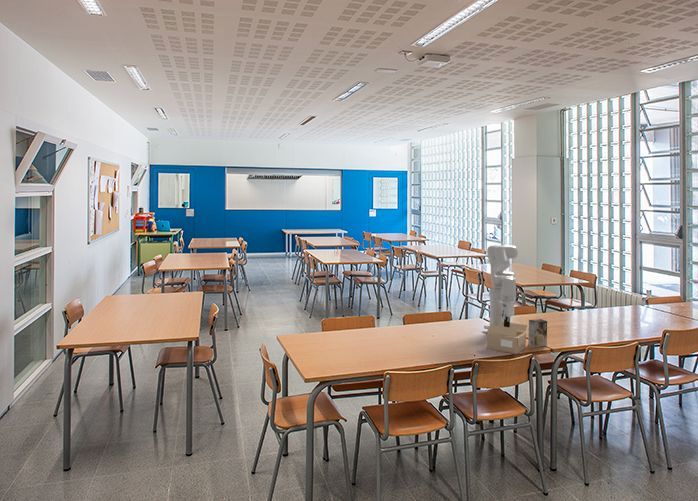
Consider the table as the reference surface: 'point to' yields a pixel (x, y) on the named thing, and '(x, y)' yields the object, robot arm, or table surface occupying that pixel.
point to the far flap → (516, 326)
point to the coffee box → (537, 333)
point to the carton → (506, 342)
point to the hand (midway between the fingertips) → (506, 327)
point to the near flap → (503, 330)
